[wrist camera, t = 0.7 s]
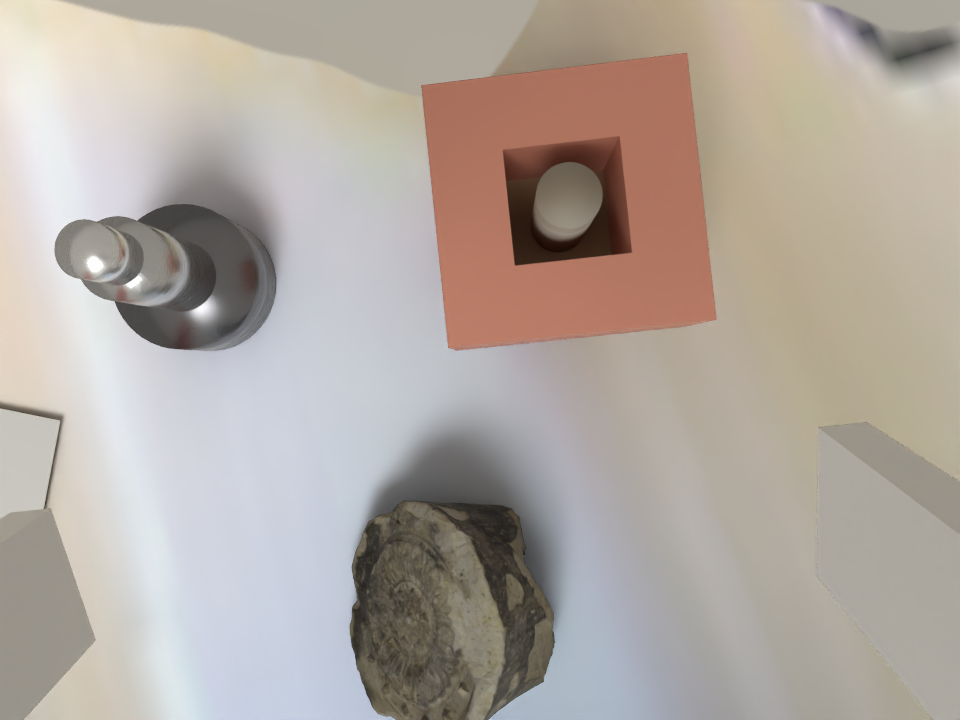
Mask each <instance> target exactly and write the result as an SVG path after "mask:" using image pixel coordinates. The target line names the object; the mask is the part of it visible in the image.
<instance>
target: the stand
mask: <svg viewBox="0 0 960 720" xmlns="http://www.w3.org/2000/svg"><path fill="white" fill-rule="evenodd" d="M506 187H507V197H508V206H509V216H510V225H511V235H512V245H513V254H514V264H515V266H517V265H526V264H535V263H544V262H553V261H562V260H571V259H580V258H589V257H598V256H607V255H612V249H611V240H610V231H609V221H608V212H607V203H606V194H605V184H604V175H603V170H598V171H592V170H591V169H589V168H588V167H586V166H584V165H582V164H579V163H575V162H565V163H560V164H557V165H555V166H553V167H551V168H550V169H549V170H547V171H546V172H545V173H544V175H543V176H542V177H537V178H528V179H520V180H511V181H506Z"/></svg>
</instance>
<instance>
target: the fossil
mask: <svg viewBox="0 0 960 720" xmlns="http://www.w3.org/2000/svg"><path fill="white" fill-rule="evenodd" d="M525 549H526V546H525V543H524V540H523V537H522V532H521V527H520V520H519V516H518V515H516V514H515V513H514V511H513V510H512V508H507V507H504V506H496V505H475V504H464V503H432V502H420V501H403V502H402V503H400V504H398V505H397V506H396V507H395V508H394V510H393V511H392V512H390V513H387V514H383V515H378V516H377V517H376V518H374V519H373V520H371V521H369V522H368V524H367V526H366V528H365V530H364V532H363V534H362V539H361V542H360V544H359V546H358V548H357V550H356V552H355V556H354V560H353V564H352V572H353V579H354V584H355V588H356V593H357V599H358V600H357V602H356V603H355V604H354V605H353V607H352V620H351V623H350V636H351V643H352V648H353V650H354V653H355V659H356V665H357V669H358V671H359V672H360V676H361V680H362V683H363V685H364V687H365V690H366V694H367V696H368V698H369V700H370V702H371V705H372V707H373V708H374V710H375V711H376V712H377V713H378V714H380V715H383V716H391V717H393V718H394V719H395V720H488V719H489V718H490V717H492V716H493V715H494V714H495V713H496V712H497V711H499V710H500V709H501V708H503V707H504V706H505V705H507V704H508V703H509V702H511V701H512V700H514V699H515V698H516V697H518V696H520V695H521V694H523V693H525V692H527V691H528V690H530V689H532V688H533V687H535V686H537V685H539V684H540V683H542V682H544V675H545V674H546V671H547V667H548V664H549V660H550V657H551V656H552V653H553V648H554V643H555V640H554V633H553V631H552V626H553V619H554V617H553V611H552V609H551V607H550V605H549V604H548V602H547V600H546V597H545V595H544V593H543V591H542V590H541V588H540V587H539V586H538V584H537V583H536V581H535V579H534V578H533V576H532V574H531V572H530V571H529V569H528V568H527V566H526V564H525V562H524V558H523V555H525V551H524V550H525Z"/></svg>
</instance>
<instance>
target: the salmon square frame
mask: <svg viewBox="0 0 960 720" xmlns="http://www.w3.org/2000/svg"><path fill="white" fill-rule="evenodd" d="M422 96H423V106H424V116H425V125H426V135H427V145H428V155H429V164H430V174H431V184H432V193H433V203H434V213H435V223H436V232H437V242H438V252H439V261H440V271H441V281H442V290H443V300H444V310H445V320H446V329H447V339H448V348H451V349H454V350H466V349H476V348H485V347H495V346H504V345H514V344H523V343H533V342H542V341H552V340H561V339H571V338H580V337H590V336H600V335H609V334H619V333H628V332H638V331H647V330H657V329H666V328H676V327H685V326H690V325H694V324H698V323H703V322H707V321H712V320H716V312H715V303H714V294H713V285H712V276H711V267H710V258H709V249H708V240H707V230H706V221H705V212H704V203H703V194H702V185H701V176H700V167H699V158H698V149H697V140H696V130H695V121H694V112H693V103H692V94H691V85H690V76H689V67H688V58H687V53H682V54H674V55H666V56H658V57H650V58H641V59H633V60H625V61H617V62H609V63H600V64H592V65H584V66H576V67H568V68H559V69H551V70H543V71H535V72H527V73H518V74H510V75H502V76H494V77H486V78H478V79H469V80H461V81H453V82H445V83H437V84H428V85H422ZM565 162H575V163H579V164H582V165H584V166H586V167H588V168H589V169H591V170H592V171H598V170H603V175H604V184H605V194H606V203H607V212H608V221H609V231H610V240H611V249H612V255H607V256H598V257H589V258H580V259H571V260H562V261H553V262H544V263H535V264H526V265H517V266H515V264H514V254H513V245H512V235H511V225H510V216H509V206H508V197H507V187H506V181H511V180H520V179H528V178H537V177H542V176H543V175H544V173H545V172H546V171H547V170H549V169H550V168H551V167H553V166H555V165H557V164H560V163H565Z"/></svg>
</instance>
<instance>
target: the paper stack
mask: <svg viewBox="0 0 960 720" xmlns="http://www.w3.org/2000/svg"><path fill="white" fill-rule="evenodd" d="M59 426H60V420H55V419H50V418H45V417H40V416H35V415H30V414H25V413H20V412H15V411H10V410H5V409H0V519H1V518H2V517H4V516H5V515H7V514H8V513H10V512H20V511H29V510H39V509H44V505H45V500H46V494H47V489H48V484H49V479H50V473H51V468H52V463H53V457H54V452H55V447H56V442H57V436H58V431H59Z"/></svg>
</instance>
